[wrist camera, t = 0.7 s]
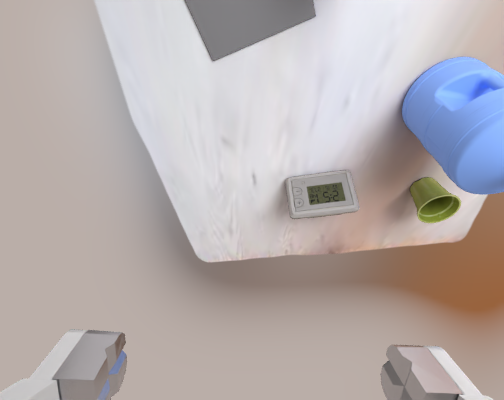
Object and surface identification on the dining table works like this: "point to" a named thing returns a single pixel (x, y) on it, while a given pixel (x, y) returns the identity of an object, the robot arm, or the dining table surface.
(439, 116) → the water jug
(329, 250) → the dining table surface
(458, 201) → the plant pot
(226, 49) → the rubber mat
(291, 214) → the digital clock
